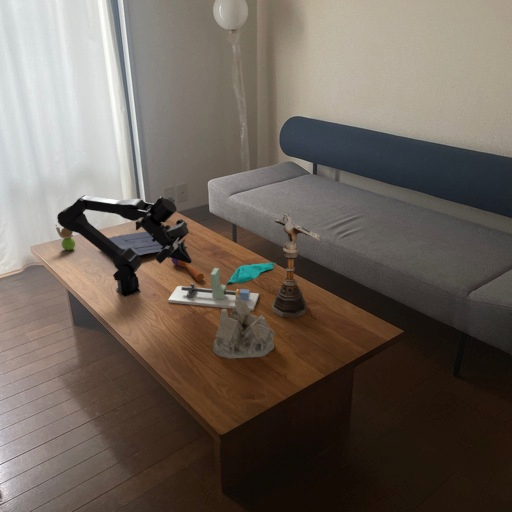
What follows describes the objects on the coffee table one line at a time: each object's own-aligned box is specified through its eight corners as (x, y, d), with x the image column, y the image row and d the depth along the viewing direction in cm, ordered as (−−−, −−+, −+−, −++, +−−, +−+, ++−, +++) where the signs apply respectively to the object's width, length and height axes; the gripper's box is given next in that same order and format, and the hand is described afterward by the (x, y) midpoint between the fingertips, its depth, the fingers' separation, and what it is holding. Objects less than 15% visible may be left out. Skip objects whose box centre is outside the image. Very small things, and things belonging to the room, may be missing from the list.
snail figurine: (59, 248, 218) (54, 222, 213) (75, 246, 221) (70, 220, 216) (61, 253, 214) (55, 227, 209) (76, 251, 216) (72, 224, 211)
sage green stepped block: (211, 299, 176) (210, 274, 172) (215, 292, 181) (214, 267, 176) (223, 300, 176) (222, 275, 171) (226, 293, 180) (225, 268, 176)
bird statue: (296, 290, 184) (299, 197, 169) (323, 304, 175) (328, 207, 160) (261, 306, 174) (261, 209, 159) (288, 321, 165) (290, 220, 150)
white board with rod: (168, 302, 177) (167, 290, 175) (177, 288, 186) (177, 277, 184) (253, 310, 172) (253, 298, 170) (258, 295, 181) (258, 284, 179)
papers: (97, 244, 219) (96, 236, 218) (160, 235, 237) (160, 228, 236) (120, 264, 202) (120, 256, 200) (187, 253, 219) (187, 245, 218)
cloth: (269, 259, 209) (269, 254, 208) (288, 272, 198) (288, 267, 197) (212, 275, 197) (212, 270, 196) (229, 290, 186) (229, 284, 185)
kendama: (191, 274, 188) (167, 252, 202) (194, 287, 191) (170, 264, 205) (205, 267, 190) (180, 245, 204) (208, 280, 194) (183, 258, 208)
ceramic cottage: (205, 346, 153) (206, 304, 147) (244, 326, 164) (247, 286, 157) (240, 372, 144) (243, 328, 137) (280, 349, 154) (285, 307, 148)
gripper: (161, 225, 160) (197, 260, 163) (181, 205, 177) (213, 237, 179) (140, 246, 165) (175, 280, 168) (161, 225, 181) (193, 256, 184)
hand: (190, 262), depth 175 cm, fingers closed
